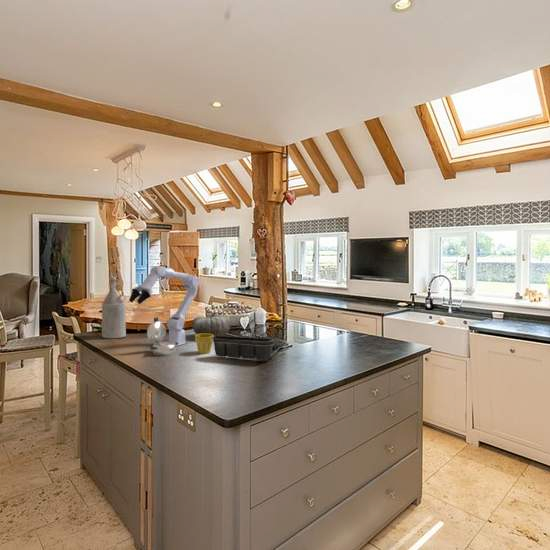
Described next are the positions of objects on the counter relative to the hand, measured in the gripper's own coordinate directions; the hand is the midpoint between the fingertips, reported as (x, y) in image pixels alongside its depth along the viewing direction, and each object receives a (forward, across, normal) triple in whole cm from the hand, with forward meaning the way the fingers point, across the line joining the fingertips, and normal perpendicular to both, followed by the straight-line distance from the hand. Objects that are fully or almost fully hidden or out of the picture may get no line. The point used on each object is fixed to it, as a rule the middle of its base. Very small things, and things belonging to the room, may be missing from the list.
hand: (134, 302), depth 219 cm
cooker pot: (+14, +15, +26) cm, 33 cm away
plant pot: (+4, +30, +38) cm, 48 cm away
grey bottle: (+12, -45, +31) cm, 56 cm away
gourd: (-17, +1, +62) cm, 64 cm away
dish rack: (-9, +50, +52) cm, 72 cm away
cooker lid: (+6, +8, +18) cm, 20 cm away
